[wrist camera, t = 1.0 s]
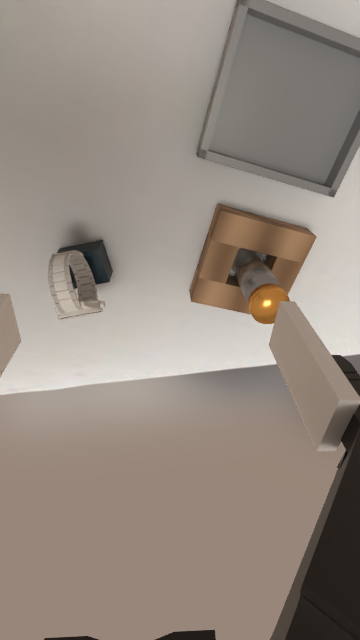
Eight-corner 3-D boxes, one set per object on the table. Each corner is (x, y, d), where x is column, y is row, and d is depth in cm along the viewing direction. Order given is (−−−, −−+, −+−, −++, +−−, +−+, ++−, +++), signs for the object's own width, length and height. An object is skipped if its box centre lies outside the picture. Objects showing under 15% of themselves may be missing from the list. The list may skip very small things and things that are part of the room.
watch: (77, 291, 45) (55, 339, 36) (54, 235, 41) (23, 273, 32) (117, 284, 45) (106, 330, 36) (98, 226, 41) (79, 261, 31)
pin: (226, 271, 45) (245, 319, 35) (236, 243, 43) (260, 286, 32) (254, 277, 45) (280, 327, 35) (265, 250, 43) (297, 294, 33)
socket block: (189, 290, 46) (191, 301, 43) (217, 204, 40) (221, 210, 37) (269, 308, 48) (275, 319, 46) (307, 228, 42) (316, 236, 39)
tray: (196, 154, 37) (198, 156, 35) (237, -1, 30) (243, -9, 28) (324, 192, 40) (333, 197, 38) (388, 59, 33) (403, 56, 31)
